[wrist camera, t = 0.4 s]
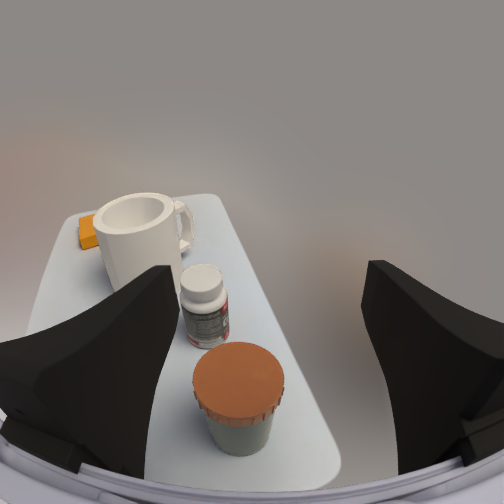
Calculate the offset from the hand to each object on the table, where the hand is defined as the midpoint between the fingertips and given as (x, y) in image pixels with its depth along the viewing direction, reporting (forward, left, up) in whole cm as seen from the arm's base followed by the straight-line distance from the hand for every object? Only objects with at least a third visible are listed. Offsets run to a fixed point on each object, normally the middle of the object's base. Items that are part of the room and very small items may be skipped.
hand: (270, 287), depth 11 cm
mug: (+22, +15, -19) cm, 33 cm away
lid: (+1, +1, -9) cm, 9 cm away
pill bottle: (+13, +6, -19) cm, 24 cm away
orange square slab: (+32, +29, -19) cm, 47 cm away
